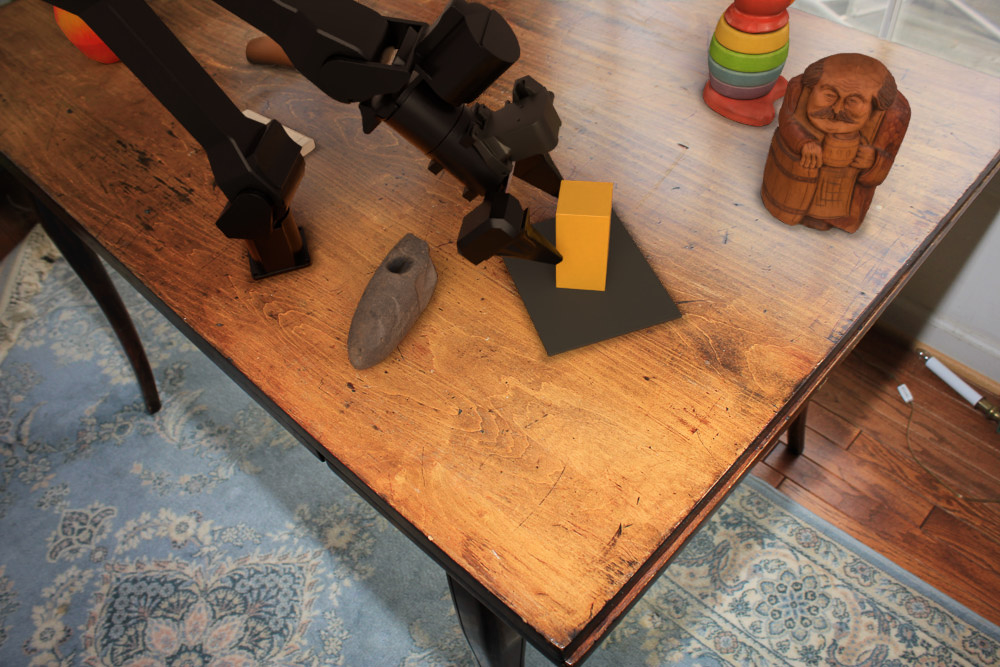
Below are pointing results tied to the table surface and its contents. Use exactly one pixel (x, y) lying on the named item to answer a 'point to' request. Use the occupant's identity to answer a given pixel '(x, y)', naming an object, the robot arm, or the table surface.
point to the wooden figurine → (834, 142)
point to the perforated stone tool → (391, 302)
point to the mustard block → (583, 234)
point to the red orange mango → (84, 37)
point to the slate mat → (592, 295)
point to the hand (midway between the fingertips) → (565, 228)
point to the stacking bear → (748, 60)
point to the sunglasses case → (266, 53)
